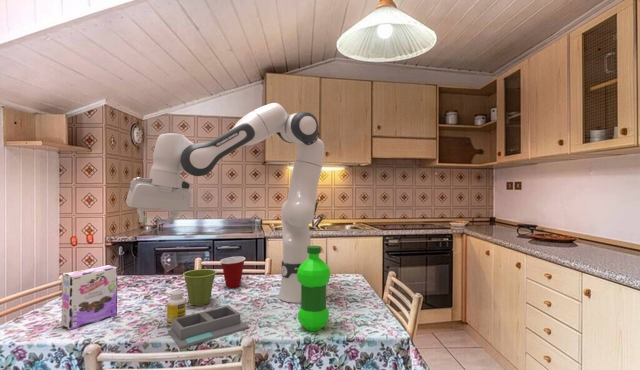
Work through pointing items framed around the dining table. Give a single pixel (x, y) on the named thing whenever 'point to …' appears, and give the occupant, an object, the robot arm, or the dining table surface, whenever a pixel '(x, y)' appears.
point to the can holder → (205, 326)
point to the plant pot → (199, 285)
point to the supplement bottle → (176, 306)
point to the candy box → (89, 296)
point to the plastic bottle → (313, 290)
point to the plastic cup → (233, 271)
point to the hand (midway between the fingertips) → (156, 223)
